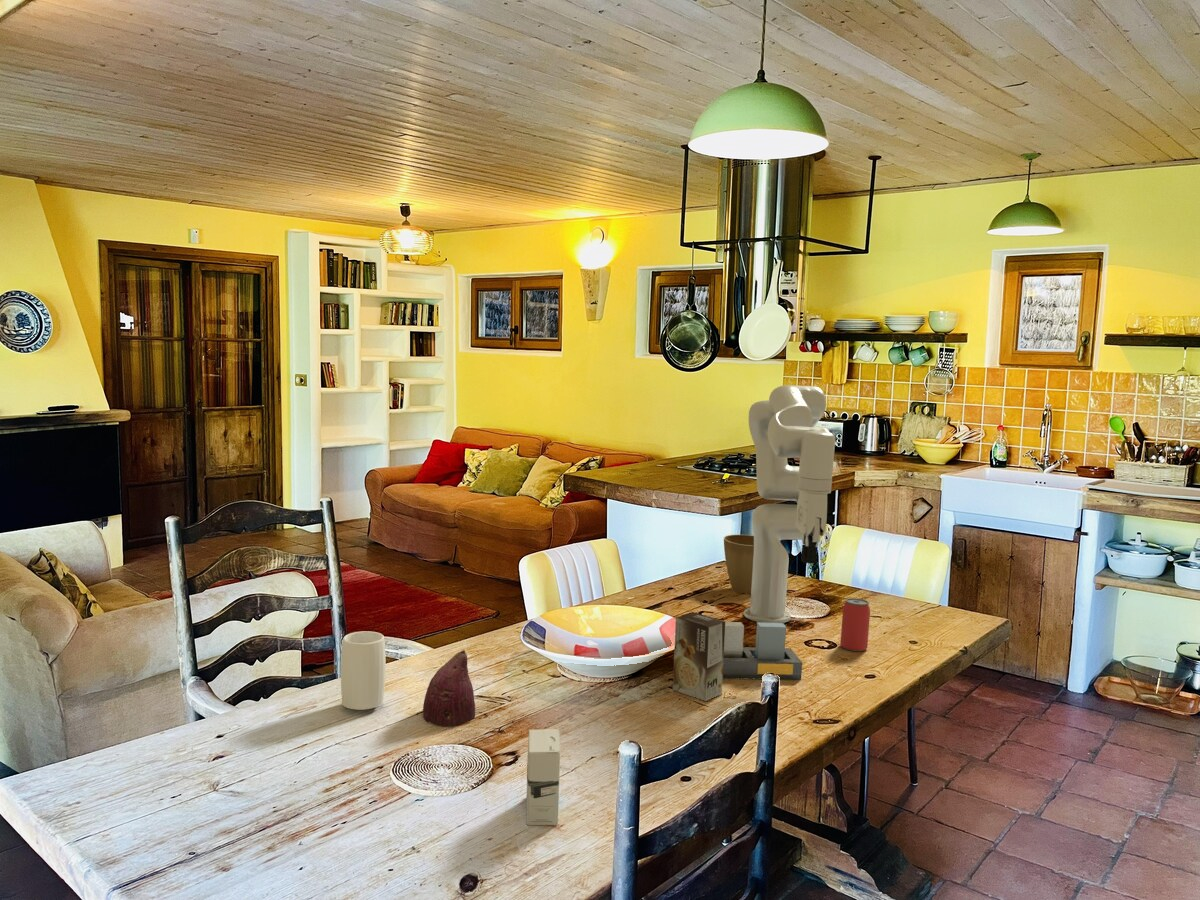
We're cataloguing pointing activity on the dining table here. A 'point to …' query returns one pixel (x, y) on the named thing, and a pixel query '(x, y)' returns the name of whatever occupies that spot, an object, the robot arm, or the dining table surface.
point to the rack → (743, 659)
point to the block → (770, 641)
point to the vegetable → (450, 694)
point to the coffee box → (698, 655)
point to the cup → (363, 670)
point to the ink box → (543, 777)
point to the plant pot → (739, 561)
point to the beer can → (855, 624)
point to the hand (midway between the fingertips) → (808, 562)
